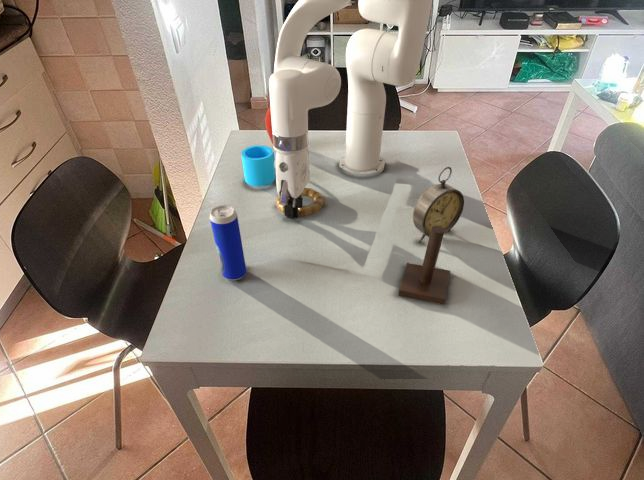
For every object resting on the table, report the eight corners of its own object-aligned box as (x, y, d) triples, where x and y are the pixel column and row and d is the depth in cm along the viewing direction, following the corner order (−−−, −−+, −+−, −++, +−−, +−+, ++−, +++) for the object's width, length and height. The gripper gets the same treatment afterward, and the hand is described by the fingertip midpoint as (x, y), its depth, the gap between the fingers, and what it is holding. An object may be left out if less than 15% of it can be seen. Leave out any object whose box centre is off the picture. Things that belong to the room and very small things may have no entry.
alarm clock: (419, 248, 95) (434, 179, 83) (404, 236, 98) (417, 168, 86) (457, 234, 98) (477, 166, 86) (442, 222, 102) (459, 155, 89)
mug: (266, 192, 112) (263, 162, 106) (239, 186, 114) (235, 156, 108) (287, 172, 119) (285, 142, 113) (261, 166, 121) (258, 137, 115)
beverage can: (223, 267, 93) (209, 204, 81) (246, 265, 93) (236, 203, 81) (222, 282, 89) (207, 220, 78) (246, 281, 89) (236, 218, 78)
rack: (405, 268, 91) (417, 212, 81) (448, 276, 89) (465, 219, 79) (398, 295, 86) (409, 239, 75) (443, 304, 84) (461, 248, 73)
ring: (286, 191, 112) (285, 182, 110) (328, 198, 110) (329, 189, 108) (269, 215, 105) (268, 206, 103) (315, 223, 103) (315, 214, 101)
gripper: (294, 158, 85) (297, 237, 99) (318, 125, 95) (318, 201, 109) (259, 153, 86) (267, 231, 100) (287, 121, 96) (290, 196, 110)
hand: (293, 215), depth 104 cm, fingers closed on ring, 2 cm apart
